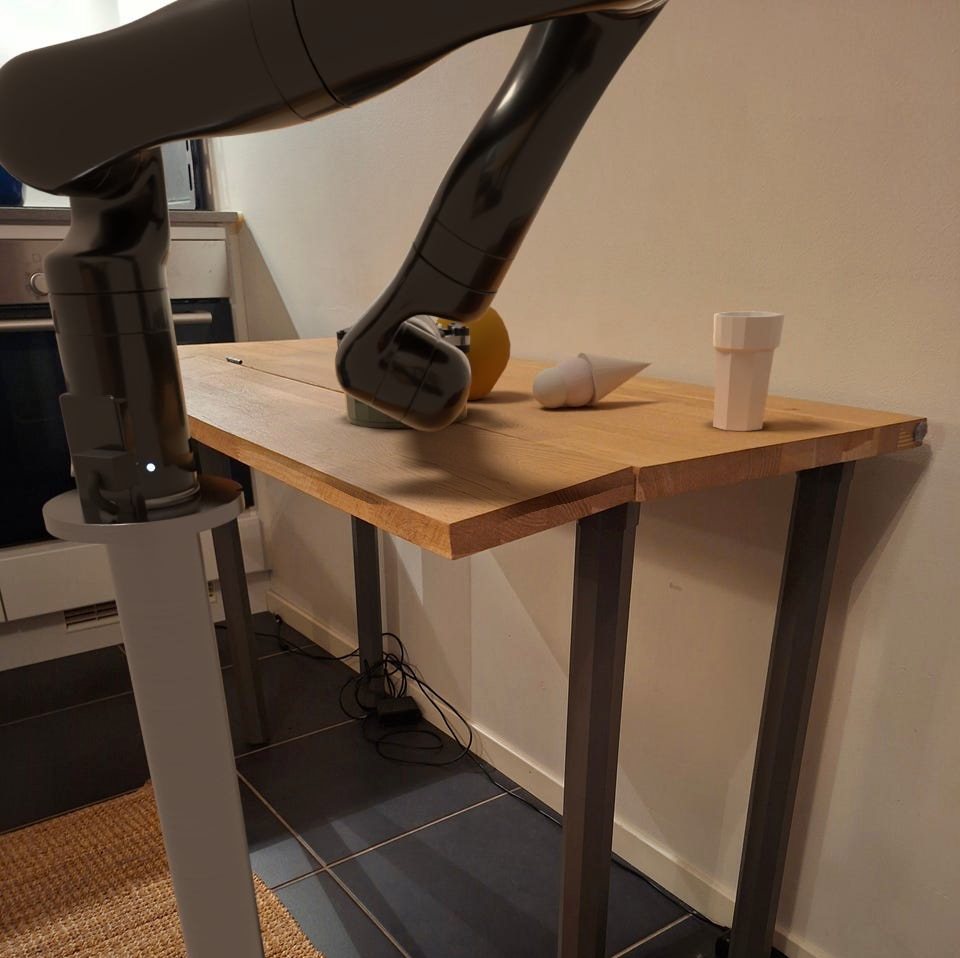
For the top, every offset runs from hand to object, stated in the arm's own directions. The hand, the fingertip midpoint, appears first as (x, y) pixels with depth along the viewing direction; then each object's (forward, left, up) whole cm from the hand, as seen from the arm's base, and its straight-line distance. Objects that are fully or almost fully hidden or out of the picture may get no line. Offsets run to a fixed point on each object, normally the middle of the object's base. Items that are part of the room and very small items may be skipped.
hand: (403, 333), depth 101 cm
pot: (-2, -1, -9) cm, 9 cm away
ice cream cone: (+11, -19, -9) cm, 24 cm away
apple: (+12, -3, -9) cm, 15 cm away
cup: (+3, -37, -9) cm, 38 cm away
